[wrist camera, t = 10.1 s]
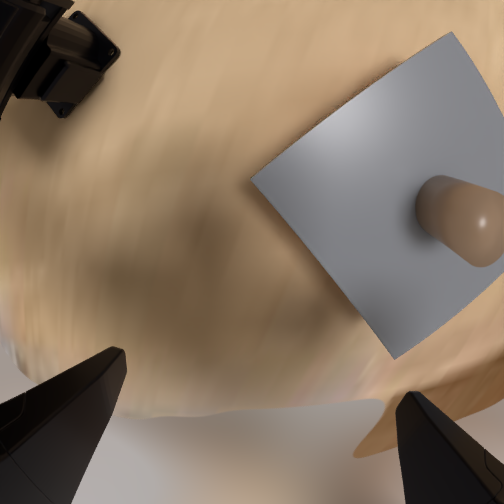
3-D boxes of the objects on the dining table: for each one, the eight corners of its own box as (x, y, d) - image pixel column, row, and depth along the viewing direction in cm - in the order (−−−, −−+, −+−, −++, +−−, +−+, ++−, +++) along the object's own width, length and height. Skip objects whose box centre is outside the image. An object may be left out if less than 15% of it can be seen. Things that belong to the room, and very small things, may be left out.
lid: (251, 177, 14) (240, 196, 9) (444, 35, 10) (497, 10, 5) (390, 351, 17) (415, 408, 12) (534, 226, 13) (582, 253, 8)
